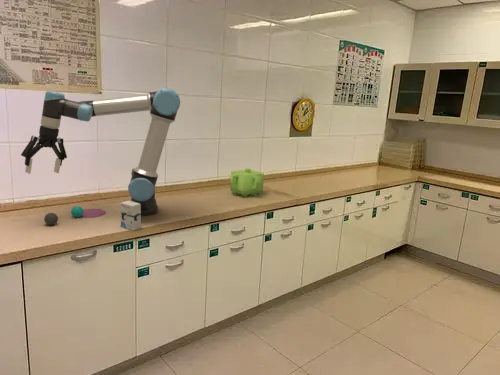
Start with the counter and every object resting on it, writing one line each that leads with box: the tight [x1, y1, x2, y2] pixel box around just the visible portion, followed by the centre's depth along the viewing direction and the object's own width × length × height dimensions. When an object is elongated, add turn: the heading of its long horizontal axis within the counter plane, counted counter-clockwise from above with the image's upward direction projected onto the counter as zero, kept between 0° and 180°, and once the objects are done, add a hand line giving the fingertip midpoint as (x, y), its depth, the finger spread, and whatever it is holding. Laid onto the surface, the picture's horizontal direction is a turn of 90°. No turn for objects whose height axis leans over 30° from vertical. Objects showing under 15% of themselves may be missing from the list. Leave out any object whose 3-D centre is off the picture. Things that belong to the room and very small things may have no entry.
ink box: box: [120, 200, 142, 231], centre depth 173 cm, size 8×5×12 cm, turn 56°
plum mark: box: [80, 208, 107, 218], centre depth 191 cm, size 14×14×1 cm
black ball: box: [43, 212, 59, 226], centre depth 171 cm, size 6×6×6 cm
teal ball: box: [70, 205, 84, 218], centre depth 183 cm, size 6×6×6 cm
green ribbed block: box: [229, 168, 265, 198], centre depth 246 cm, size 25×23×17 cm
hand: (42, 172), depth 172 cm, fingers open, 13 cm apart
